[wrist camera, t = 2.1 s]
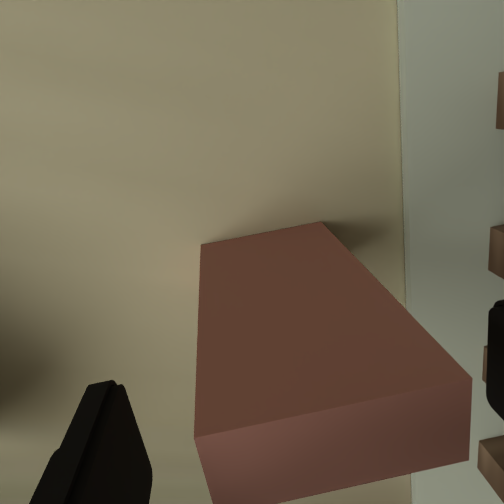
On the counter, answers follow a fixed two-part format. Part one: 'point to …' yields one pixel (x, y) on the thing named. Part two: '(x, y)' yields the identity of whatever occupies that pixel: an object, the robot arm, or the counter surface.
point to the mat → (453, 202)
